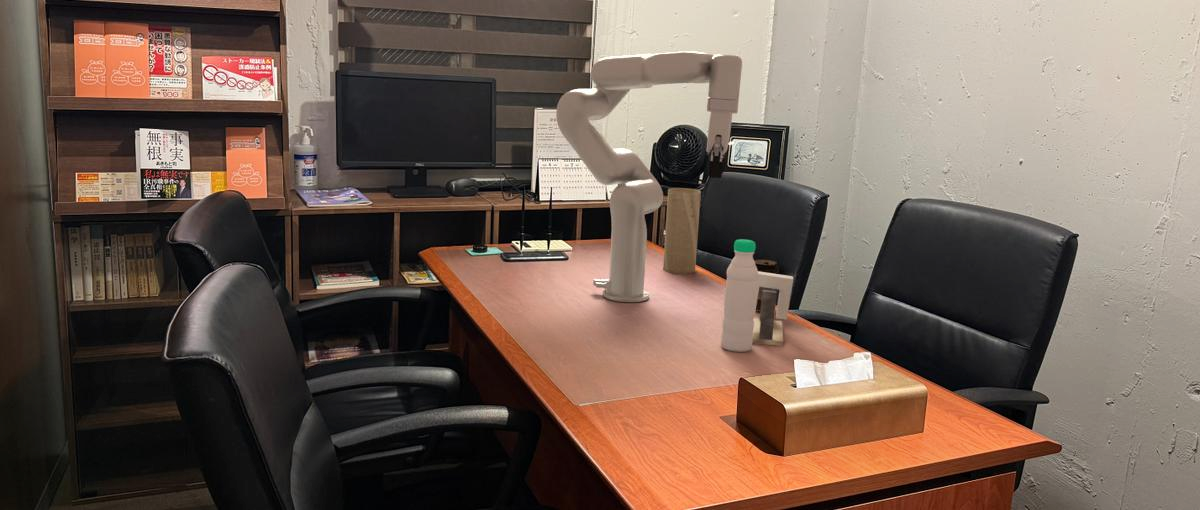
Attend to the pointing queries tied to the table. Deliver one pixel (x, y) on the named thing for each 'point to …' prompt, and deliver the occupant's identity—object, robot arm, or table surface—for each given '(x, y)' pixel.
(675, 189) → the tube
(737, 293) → the water bottle
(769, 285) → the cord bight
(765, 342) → the hook stand
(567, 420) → the table surface
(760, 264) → the coffee cup
